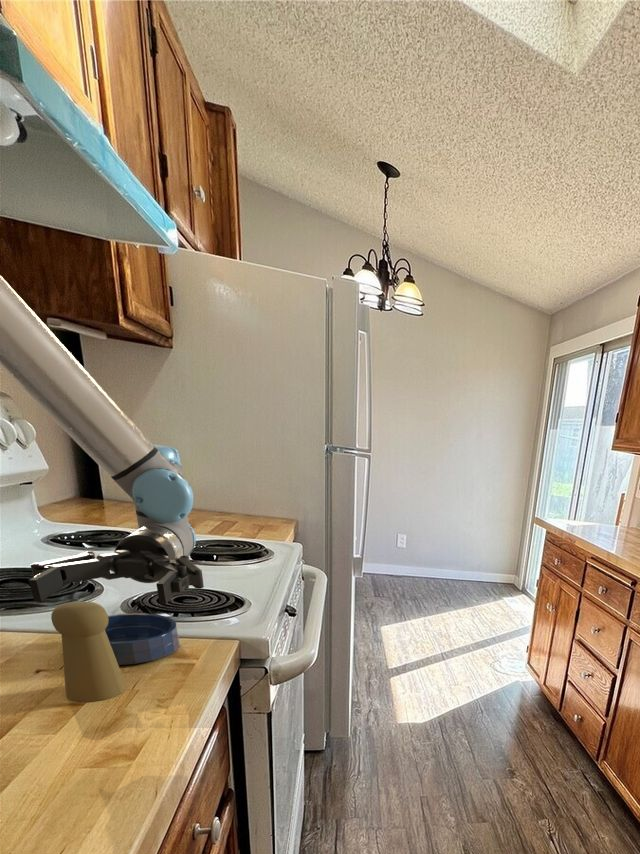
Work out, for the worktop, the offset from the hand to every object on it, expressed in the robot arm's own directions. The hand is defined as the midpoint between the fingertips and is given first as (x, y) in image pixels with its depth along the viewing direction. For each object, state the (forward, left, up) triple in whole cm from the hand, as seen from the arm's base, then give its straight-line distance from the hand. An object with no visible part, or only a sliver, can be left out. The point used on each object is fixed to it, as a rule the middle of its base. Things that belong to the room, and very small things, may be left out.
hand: (99, 592), depth 70 cm
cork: (+1, -7, -10) cm, 13 cm away
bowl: (0, +6, -10) cm, 12 cm away
